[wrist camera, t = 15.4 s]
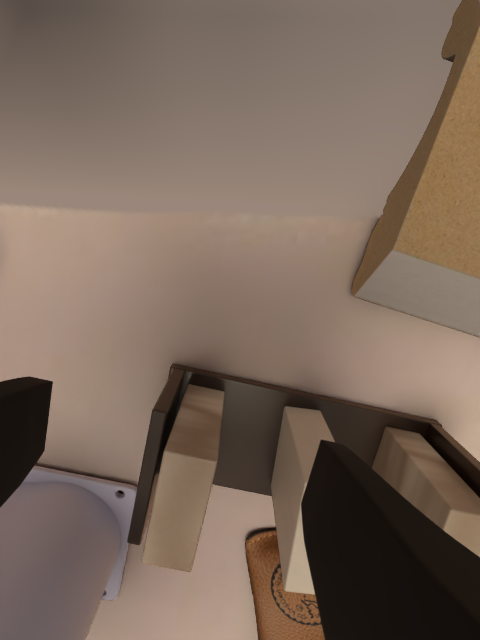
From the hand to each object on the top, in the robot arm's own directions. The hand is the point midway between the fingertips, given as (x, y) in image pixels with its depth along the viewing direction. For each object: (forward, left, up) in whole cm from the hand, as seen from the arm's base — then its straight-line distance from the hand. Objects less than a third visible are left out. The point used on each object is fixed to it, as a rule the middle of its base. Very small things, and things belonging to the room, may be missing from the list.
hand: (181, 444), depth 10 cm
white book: (+6, -5, -10) cm, 12 cm away
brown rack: (+6, -5, -10) cm, 13 cm away
